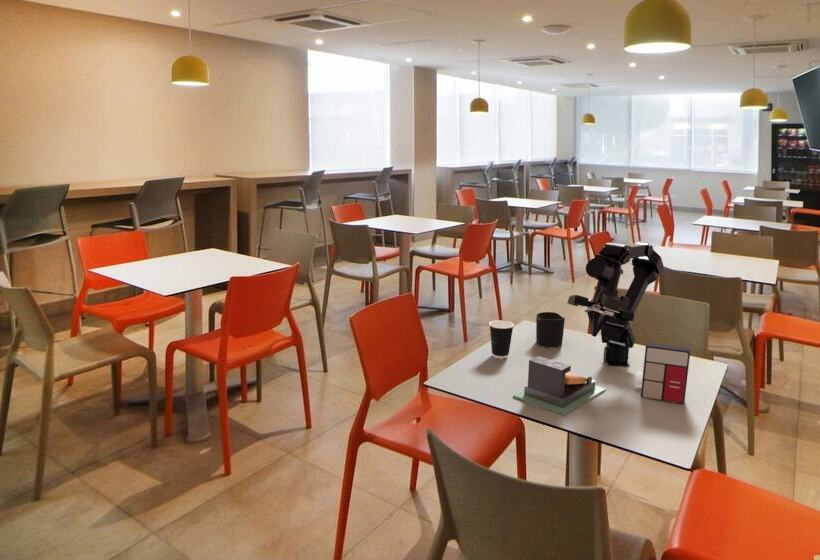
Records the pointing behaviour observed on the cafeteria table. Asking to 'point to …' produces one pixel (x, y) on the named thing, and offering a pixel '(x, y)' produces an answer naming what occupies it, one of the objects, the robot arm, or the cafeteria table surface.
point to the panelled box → (665, 372)
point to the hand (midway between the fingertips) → (593, 336)
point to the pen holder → (549, 329)
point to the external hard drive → (638, 381)
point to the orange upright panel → (574, 379)
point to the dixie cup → (501, 338)
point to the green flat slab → (557, 409)
